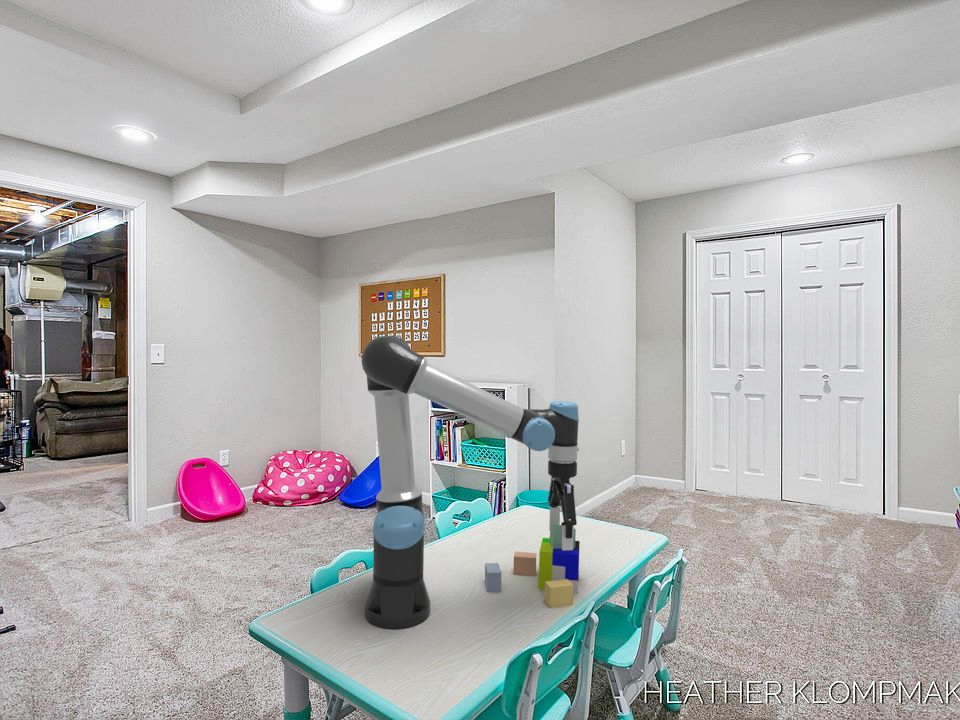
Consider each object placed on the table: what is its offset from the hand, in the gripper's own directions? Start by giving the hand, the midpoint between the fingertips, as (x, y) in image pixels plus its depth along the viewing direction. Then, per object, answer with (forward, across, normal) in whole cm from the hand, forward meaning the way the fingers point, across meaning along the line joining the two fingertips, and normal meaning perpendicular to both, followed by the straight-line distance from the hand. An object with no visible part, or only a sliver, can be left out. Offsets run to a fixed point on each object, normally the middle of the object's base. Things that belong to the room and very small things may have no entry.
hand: (560, 539), depth 147 cm
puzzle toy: (+12, 0, 0) cm, 12 cm away
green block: (+2, 0, 0) cm, 2 cm away
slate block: (+12, -1, +18) cm, 21 cm away
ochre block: (+12, -11, +3) cm, 16 cm away
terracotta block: (+12, +7, +8) cm, 16 cm away
